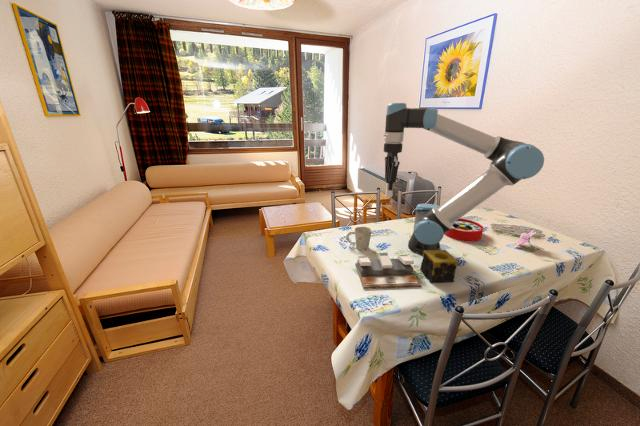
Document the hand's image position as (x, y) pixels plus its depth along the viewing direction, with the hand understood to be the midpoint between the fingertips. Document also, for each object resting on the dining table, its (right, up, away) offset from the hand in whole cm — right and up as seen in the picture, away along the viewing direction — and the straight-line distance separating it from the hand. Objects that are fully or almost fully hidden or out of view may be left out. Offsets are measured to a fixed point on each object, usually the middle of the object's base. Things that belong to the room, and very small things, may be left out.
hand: (388, 196), depth 123 cm
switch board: (-3, -34, -7) cm, 35 cm away
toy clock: (+49, -20, +33) cm, 62 cm away
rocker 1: (-12, -29, -6) cm, 32 cm away
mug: (-11, -25, +17) cm, 33 cm away
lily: (+73, -25, +17) cm, 79 cm away
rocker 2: (+6, -29, -5) cm, 30 cm away
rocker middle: (-3, -29, -5) cm, 30 cm away
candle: (+18, -34, -7) cm, 40 cm away
